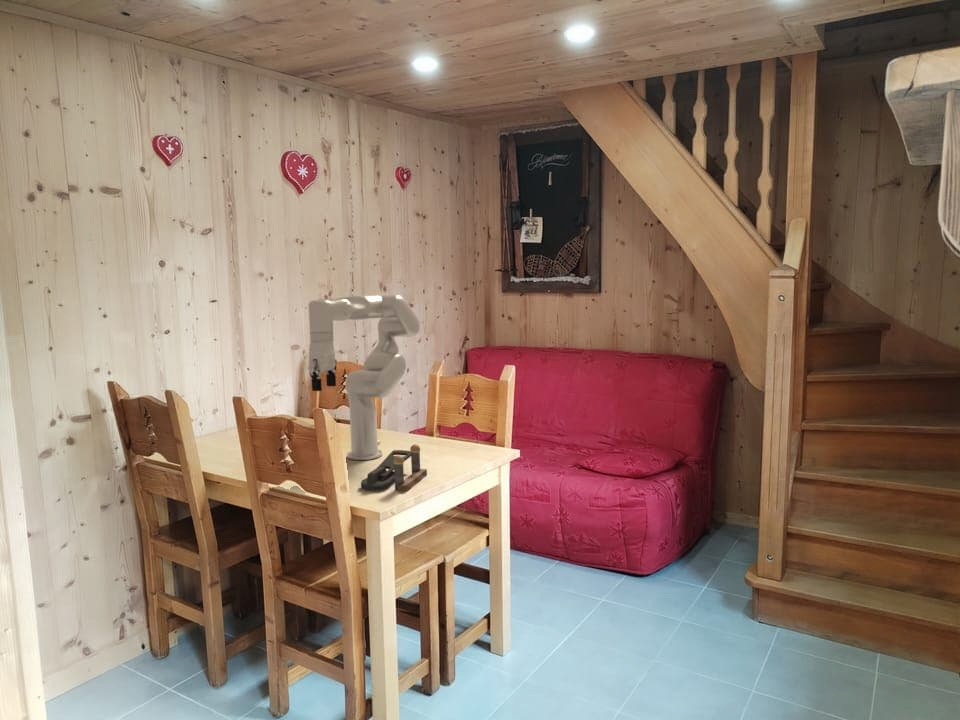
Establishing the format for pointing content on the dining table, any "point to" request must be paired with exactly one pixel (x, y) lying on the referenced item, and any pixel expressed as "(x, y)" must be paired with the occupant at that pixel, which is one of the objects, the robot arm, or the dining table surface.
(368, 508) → the dining table surface
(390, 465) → the zipper pull
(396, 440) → the dining table surface
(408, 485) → the peg stop rail
